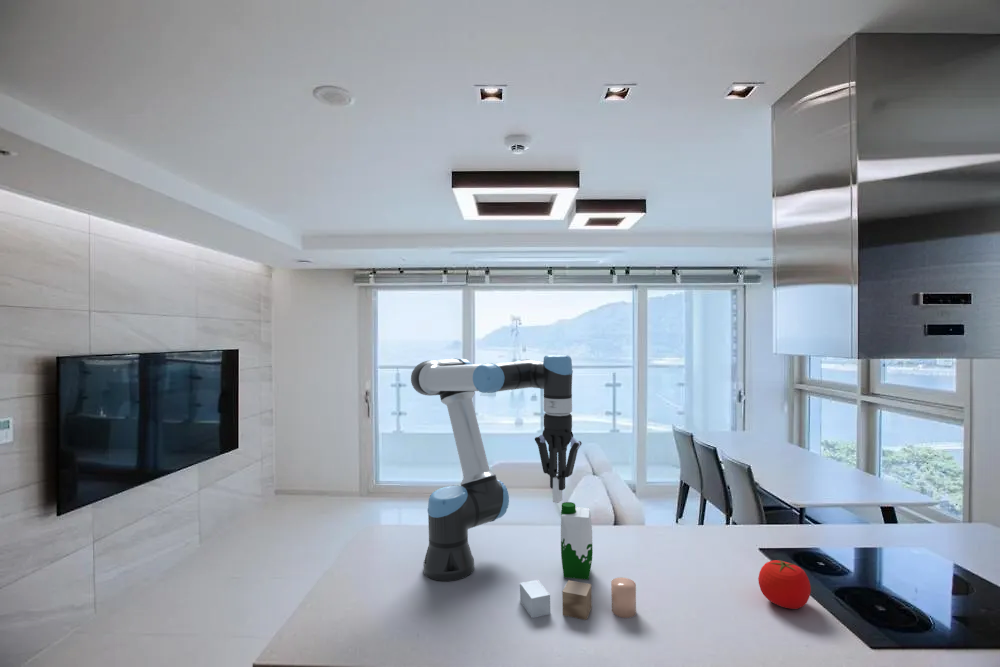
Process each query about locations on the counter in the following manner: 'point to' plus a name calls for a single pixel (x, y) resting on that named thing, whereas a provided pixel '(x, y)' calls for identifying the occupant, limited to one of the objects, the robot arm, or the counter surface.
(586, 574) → the milk carton
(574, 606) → the walnut cube
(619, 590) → the peach domed cylinder
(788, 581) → the tomato
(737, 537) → the counter surface
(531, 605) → the grey brick
